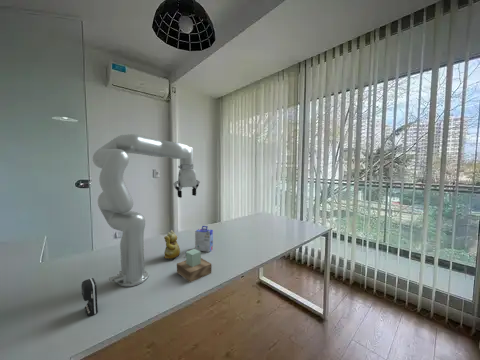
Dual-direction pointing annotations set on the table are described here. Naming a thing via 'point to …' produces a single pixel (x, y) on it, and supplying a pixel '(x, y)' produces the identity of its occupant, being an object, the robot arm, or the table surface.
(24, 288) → the table surface
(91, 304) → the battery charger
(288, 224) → the table surface
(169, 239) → the decorative figurine
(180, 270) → the walnut block
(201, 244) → the ink cartridge box
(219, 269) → the table surface
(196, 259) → the sage block
